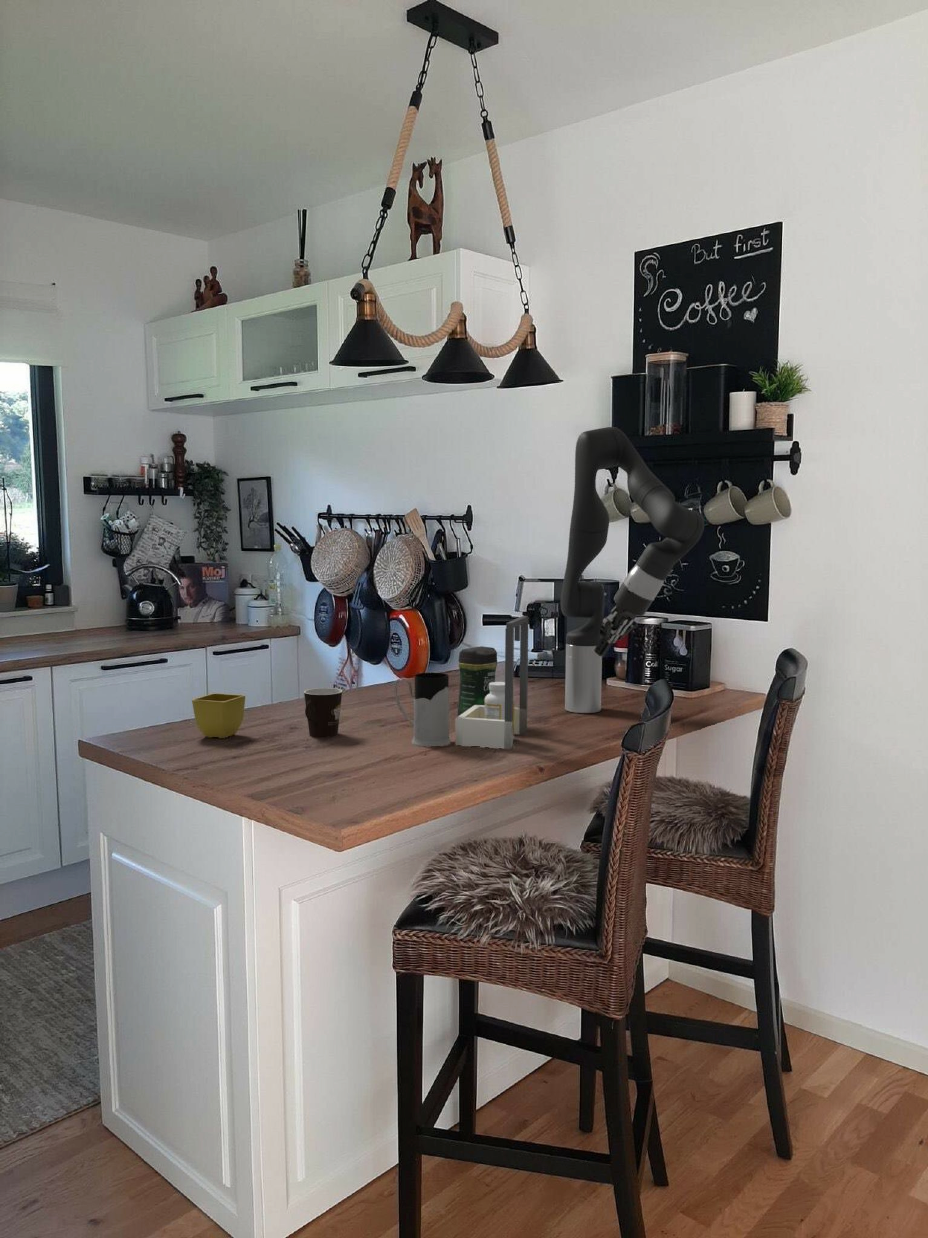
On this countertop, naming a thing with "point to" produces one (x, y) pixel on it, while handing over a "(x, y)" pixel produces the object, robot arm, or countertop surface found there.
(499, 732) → the bay
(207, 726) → the flower pot
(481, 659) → the coffee jar
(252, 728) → the countertop surface
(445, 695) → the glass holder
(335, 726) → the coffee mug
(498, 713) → the supplement bottle
